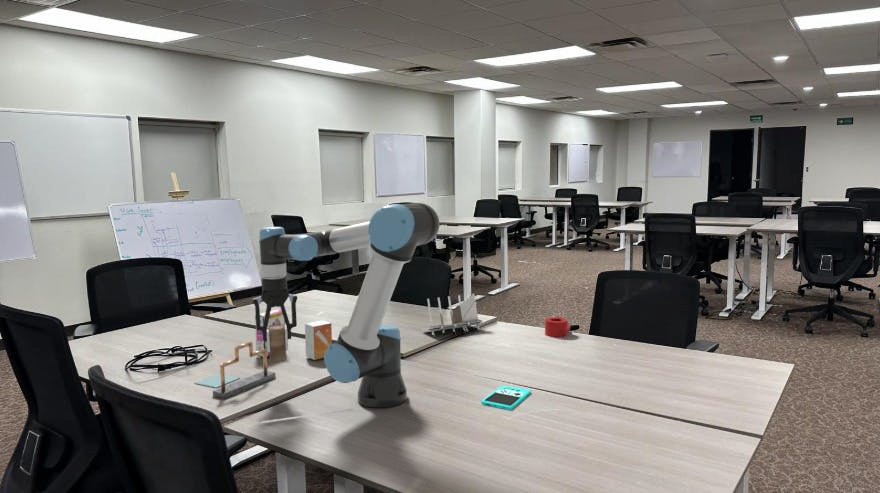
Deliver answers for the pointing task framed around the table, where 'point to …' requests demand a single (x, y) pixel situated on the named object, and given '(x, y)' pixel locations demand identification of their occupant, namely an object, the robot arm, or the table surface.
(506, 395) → the handheld game console
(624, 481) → the table surface
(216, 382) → the mat
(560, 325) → the red saucepan
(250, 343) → the wire frame
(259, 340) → the candy bar box
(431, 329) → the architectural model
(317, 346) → the small box
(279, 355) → the walnut peg
